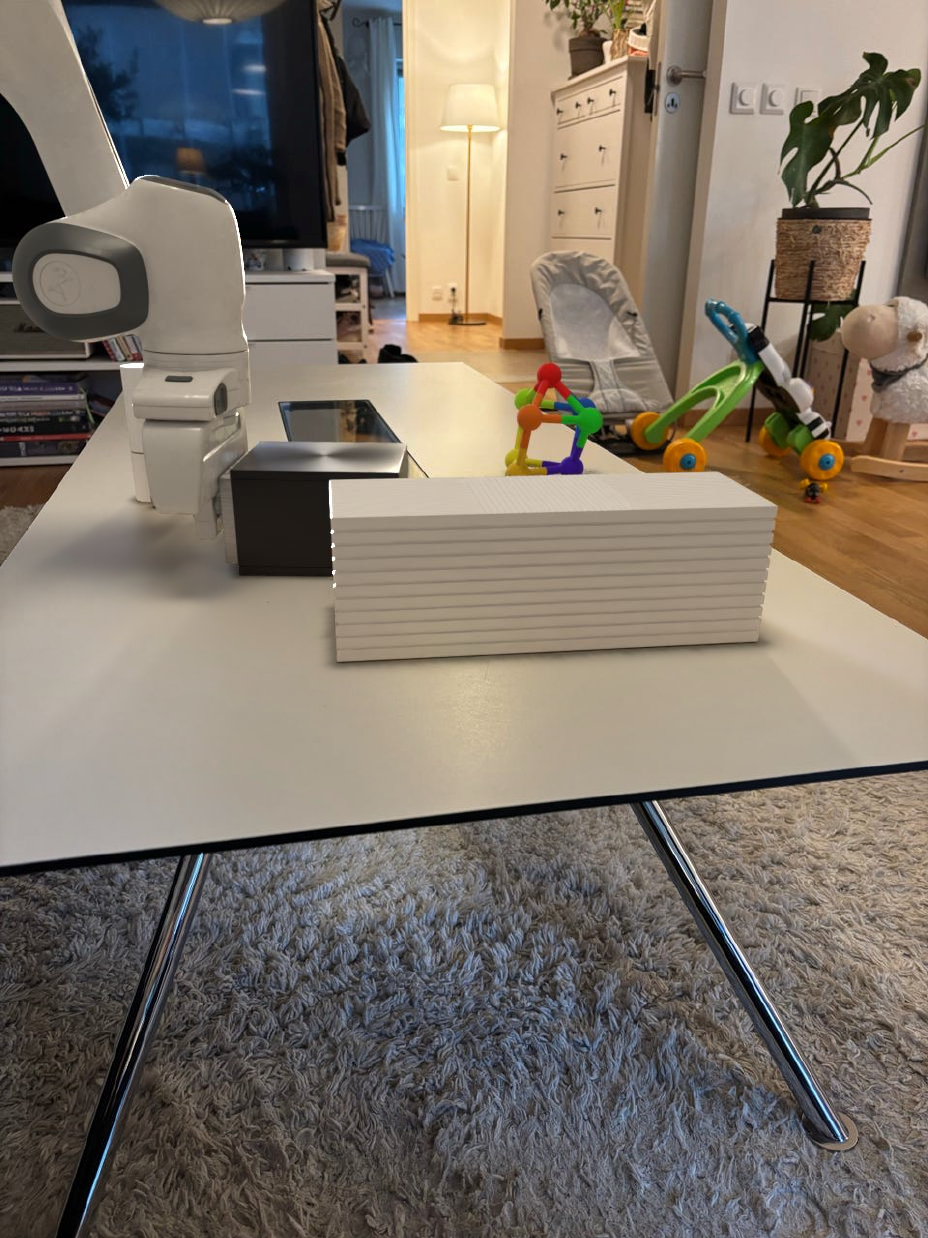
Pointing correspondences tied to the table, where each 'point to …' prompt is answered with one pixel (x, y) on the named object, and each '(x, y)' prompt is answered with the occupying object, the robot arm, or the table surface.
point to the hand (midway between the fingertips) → (210, 535)
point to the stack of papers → (545, 563)
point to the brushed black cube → (298, 500)
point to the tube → (135, 429)
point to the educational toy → (533, 417)
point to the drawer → (228, 515)
